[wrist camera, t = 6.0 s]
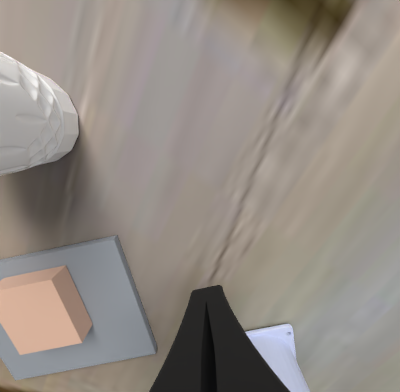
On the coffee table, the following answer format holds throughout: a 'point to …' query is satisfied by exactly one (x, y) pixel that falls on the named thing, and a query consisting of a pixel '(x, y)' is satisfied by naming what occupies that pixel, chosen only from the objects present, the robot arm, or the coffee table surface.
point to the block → (43, 310)
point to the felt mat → (95, 305)
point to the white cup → (32, 118)
